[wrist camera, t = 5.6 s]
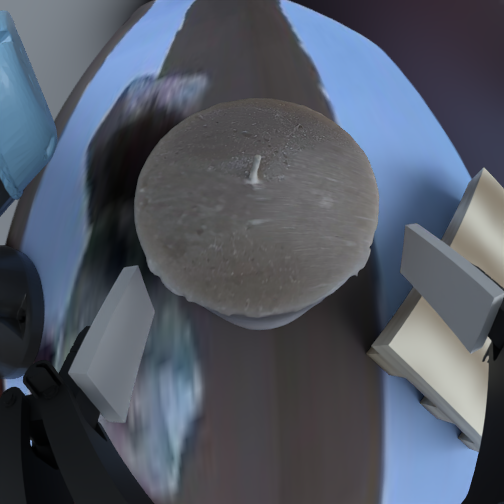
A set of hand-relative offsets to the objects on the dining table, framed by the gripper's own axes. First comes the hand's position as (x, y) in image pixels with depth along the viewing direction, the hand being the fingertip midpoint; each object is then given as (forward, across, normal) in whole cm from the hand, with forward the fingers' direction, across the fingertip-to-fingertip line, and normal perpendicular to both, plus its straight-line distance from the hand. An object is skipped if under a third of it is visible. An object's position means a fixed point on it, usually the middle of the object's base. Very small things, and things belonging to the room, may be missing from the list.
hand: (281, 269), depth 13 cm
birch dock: (+2, +20, -12) cm, 23 cm away
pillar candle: (+9, -1, -5) cm, 10 cm away
